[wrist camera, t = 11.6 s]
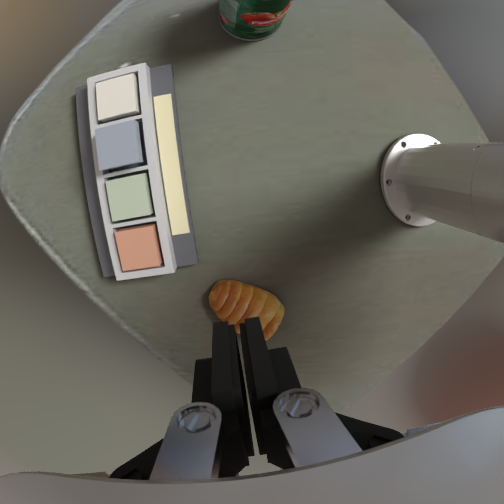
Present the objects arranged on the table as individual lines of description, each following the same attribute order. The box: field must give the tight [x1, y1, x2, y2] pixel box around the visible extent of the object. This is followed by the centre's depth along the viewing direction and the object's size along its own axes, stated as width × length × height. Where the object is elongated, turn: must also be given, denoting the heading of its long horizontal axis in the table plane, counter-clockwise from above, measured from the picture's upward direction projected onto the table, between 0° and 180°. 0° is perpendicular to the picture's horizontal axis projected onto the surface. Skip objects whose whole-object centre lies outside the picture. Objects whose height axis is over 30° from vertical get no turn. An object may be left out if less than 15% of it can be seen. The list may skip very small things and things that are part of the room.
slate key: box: [95, 120, 143, 171], centre depth 29 cm, size 4×4×2 cm
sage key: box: [106, 173, 154, 222], centre depth 32 cm, size 4×4×2 cm
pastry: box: [208, 280, 285, 341], centre depth 39 cm, size 9×7×4 cm
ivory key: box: [96, 73, 140, 122], centre depth 29 cm, size 4×4×2 cm
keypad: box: [76, 63, 199, 281], centre depth 33 cm, size 12×24×4 cm, turn 7°
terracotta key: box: [114, 223, 163, 271], centre depth 34 cm, size 4×4×2 cm
